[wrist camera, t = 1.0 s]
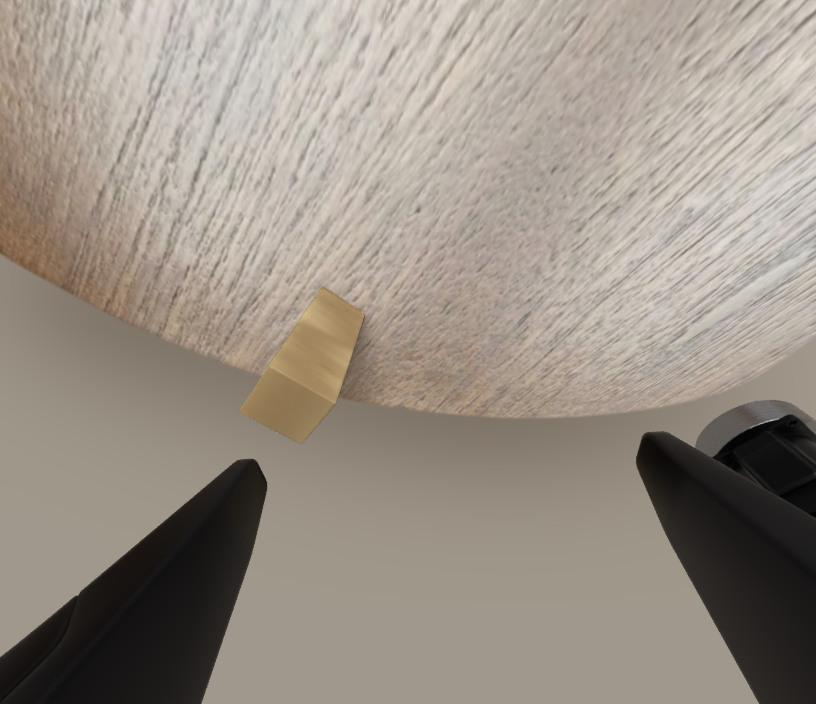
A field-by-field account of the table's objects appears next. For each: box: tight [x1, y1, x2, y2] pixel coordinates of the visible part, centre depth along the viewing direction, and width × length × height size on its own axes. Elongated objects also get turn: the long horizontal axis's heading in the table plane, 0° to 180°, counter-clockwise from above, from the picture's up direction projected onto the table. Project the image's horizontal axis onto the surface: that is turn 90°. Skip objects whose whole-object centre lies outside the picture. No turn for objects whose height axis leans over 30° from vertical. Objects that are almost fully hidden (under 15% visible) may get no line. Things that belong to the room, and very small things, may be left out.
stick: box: [239, 287, 365, 444], centre depth 17 cm, size 3×3×8 cm
